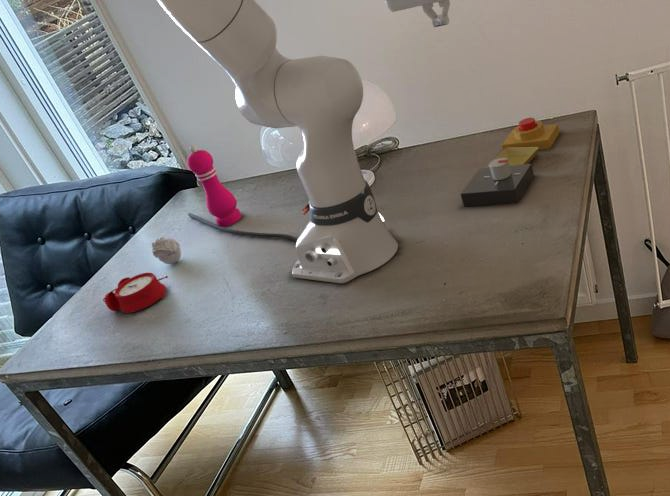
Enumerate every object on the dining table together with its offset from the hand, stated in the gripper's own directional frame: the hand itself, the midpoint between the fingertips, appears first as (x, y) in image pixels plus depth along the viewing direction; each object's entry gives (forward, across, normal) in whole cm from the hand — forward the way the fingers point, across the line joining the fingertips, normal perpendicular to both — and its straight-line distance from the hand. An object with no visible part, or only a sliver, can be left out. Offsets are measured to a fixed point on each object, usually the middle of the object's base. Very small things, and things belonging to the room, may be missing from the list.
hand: (441, 25), depth 150 cm
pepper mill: (+31, -63, -16) cm, 72 cm away
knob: (+28, +10, -12) cm, 32 cm away
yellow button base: (+31, +9, +10) cm, 34 cm away
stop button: (+27, +9, +10) cm, 31 cm away
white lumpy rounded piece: (+31, -66, -35) cm, 81 cm away
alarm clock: (+31, -64, -50) cm, 87 cm away
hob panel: (+31, +9, -13) cm, 35 cm away
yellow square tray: (+31, +9, -1) cm, 32 cm away
